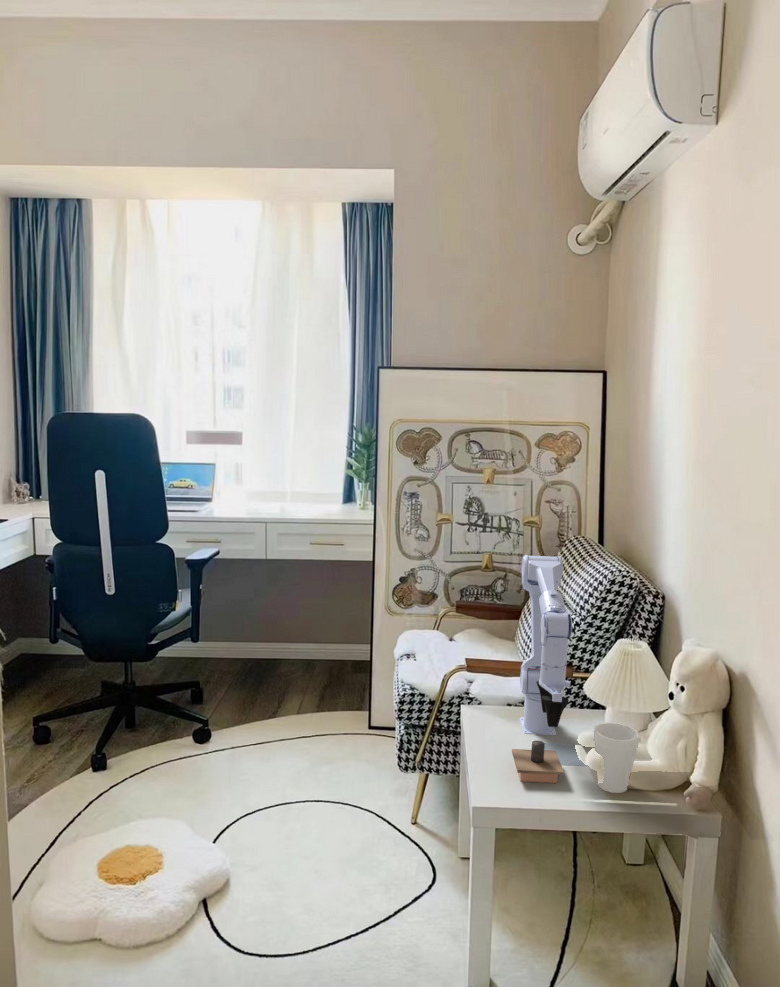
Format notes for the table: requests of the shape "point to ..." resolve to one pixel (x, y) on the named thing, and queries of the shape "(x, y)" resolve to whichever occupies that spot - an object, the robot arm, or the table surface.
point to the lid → (537, 760)
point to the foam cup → (616, 753)
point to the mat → (565, 753)
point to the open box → (538, 777)
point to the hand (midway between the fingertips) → (549, 719)
